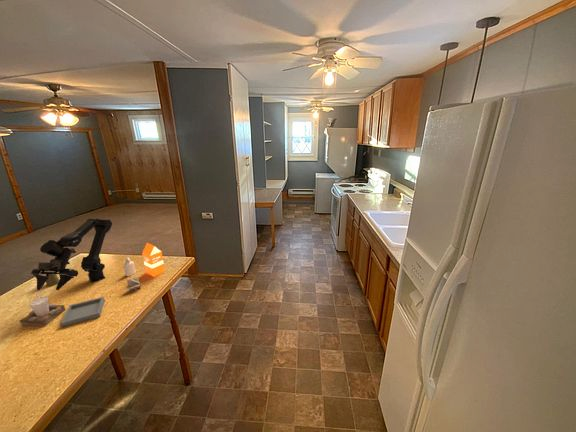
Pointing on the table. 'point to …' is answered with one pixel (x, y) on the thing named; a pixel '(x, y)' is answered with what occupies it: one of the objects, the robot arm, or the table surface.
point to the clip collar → (53, 313)
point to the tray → (83, 311)
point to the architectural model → (133, 283)
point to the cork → (52, 280)
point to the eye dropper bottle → (129, 267)
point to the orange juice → (153, 260)
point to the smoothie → (40, 306)
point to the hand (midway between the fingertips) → (47, 290)
